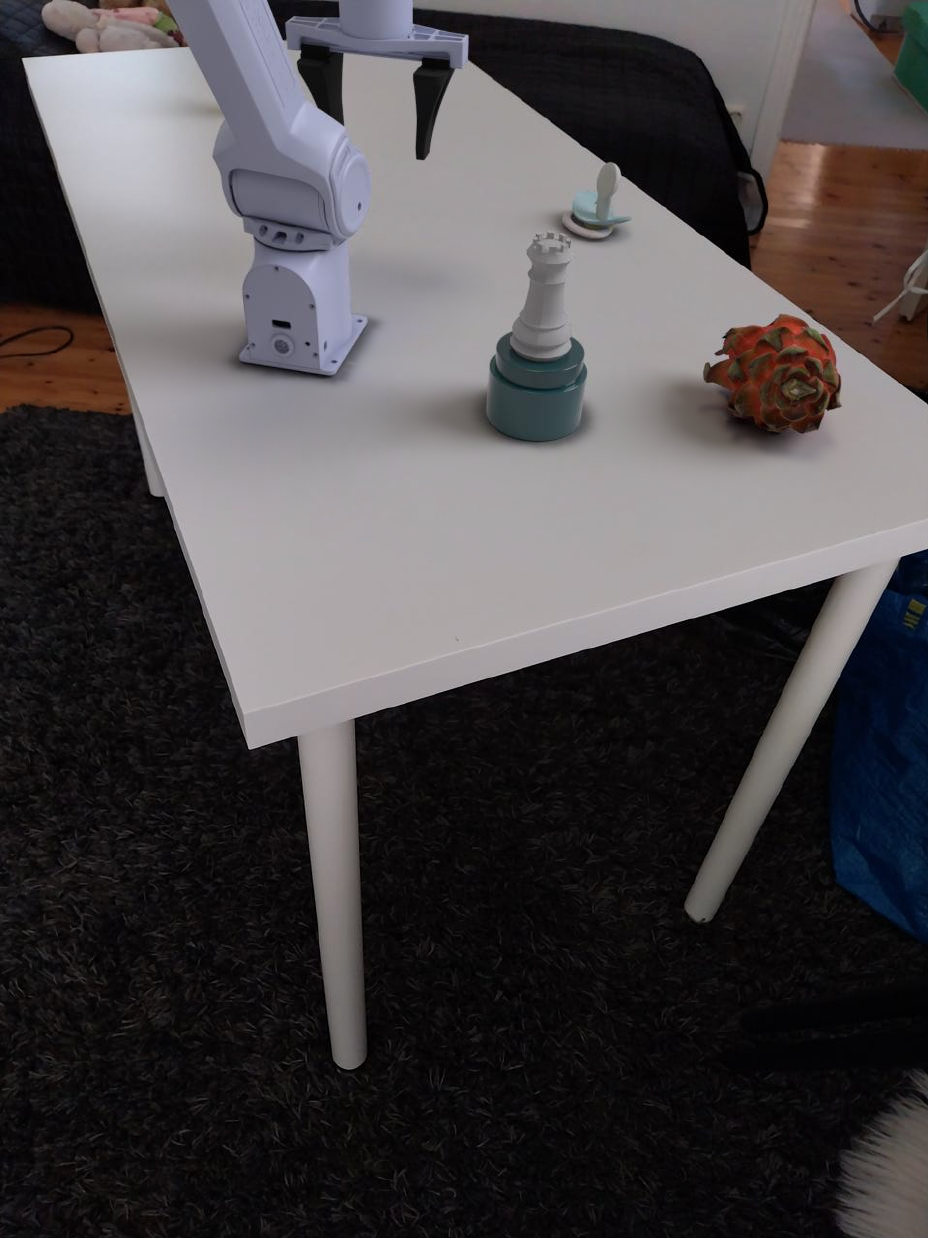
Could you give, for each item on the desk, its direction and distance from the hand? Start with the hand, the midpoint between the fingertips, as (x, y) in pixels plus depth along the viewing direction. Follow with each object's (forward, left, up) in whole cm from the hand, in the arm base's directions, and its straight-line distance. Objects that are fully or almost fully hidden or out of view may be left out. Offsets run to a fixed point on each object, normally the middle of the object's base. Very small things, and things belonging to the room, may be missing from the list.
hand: (379, 150), depth 83 cm
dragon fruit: (-16, -35, -11) cm, 40 cm away
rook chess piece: (-21, -18, -5) cm, 28 cm away
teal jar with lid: (-21, -18, -10) cm, 29 cm away
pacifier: (+15, -18, -11) cm, 26 cm away
